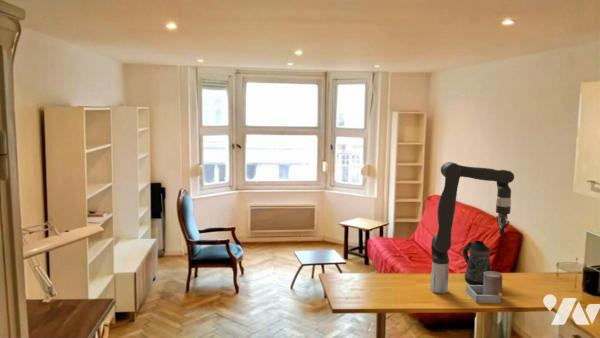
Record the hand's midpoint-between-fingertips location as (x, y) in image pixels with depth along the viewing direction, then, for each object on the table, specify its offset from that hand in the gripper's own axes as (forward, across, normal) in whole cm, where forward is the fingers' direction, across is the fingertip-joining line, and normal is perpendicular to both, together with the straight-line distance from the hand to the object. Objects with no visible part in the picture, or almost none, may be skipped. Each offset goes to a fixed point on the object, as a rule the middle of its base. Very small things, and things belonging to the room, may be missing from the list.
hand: (501, 234), depth 254 cm
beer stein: (+34, -14, -8) cm, 38 cm away
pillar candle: (+34, +11, -8) cm, 36 cm away
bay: (+34, +11, -12) cm, 37 cm away
